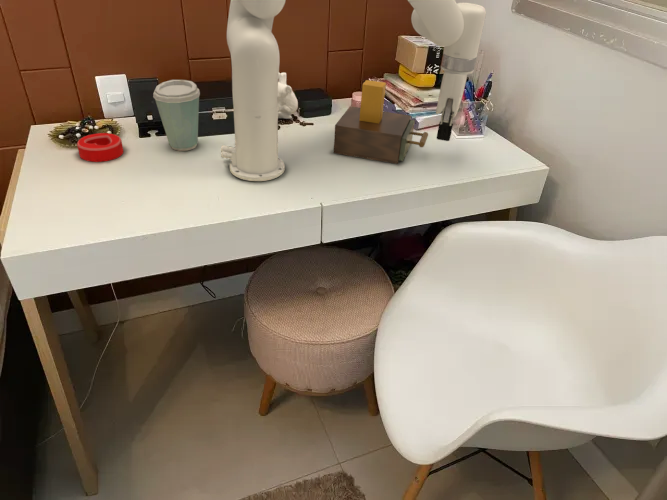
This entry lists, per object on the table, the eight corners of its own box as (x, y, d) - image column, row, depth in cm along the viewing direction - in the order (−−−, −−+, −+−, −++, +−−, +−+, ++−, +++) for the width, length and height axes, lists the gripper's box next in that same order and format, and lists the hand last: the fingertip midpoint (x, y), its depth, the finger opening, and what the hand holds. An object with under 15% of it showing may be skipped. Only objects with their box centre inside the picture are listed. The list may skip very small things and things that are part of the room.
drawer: (427, 143, 138) (431, 122, 135) (420, 163, 128) (423, 141, 125) (355, 131, 142) (357, 111, 139) (342, 150, 132) (344, 128, 128)
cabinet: (407, 142, 140) (411, 115, 136) (397, 164, 129) (401, 135, 125) (347, 132, 144) (349, 106, 139) (333, 153, 132) (335, 124, 128)
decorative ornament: (126, 144, 129) (124, 132, 128) (119, 161, 122) (117, 148, 120) (84, 144, 128) (82, 132, 126) (75, 162, 120) (72, 149, 118)
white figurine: (268, 112, 152) (268, 70, 146) (290, 110, 155) (291, 69, 148) (277, 123, 146) (277, 80, 139) (300, 121, 149) (301, 78, 142)
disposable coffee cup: (195, 157, 126) (189, 95, 117) (152, 152, 127) (143, 90, 118) (211, 140, 134) (206, 81, 126) (170, 135, 135) (163, 76, 127)
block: (359, 120, 131) (362, 84, 126) (362, 115, 134) (366, 79, 129) (378, 123, 130) (382, 87, 125) (382, 118, 133) (386, 82, 128)
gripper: (445, 53, 127) (431, 126, 137) (437, 69, 115) (423, 147, 125) (476, 57, 125) (460, 131, 136) (472, 74, 113) (455, 153, 124)
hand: (443, 138), depth 130 cm, fingers closed
